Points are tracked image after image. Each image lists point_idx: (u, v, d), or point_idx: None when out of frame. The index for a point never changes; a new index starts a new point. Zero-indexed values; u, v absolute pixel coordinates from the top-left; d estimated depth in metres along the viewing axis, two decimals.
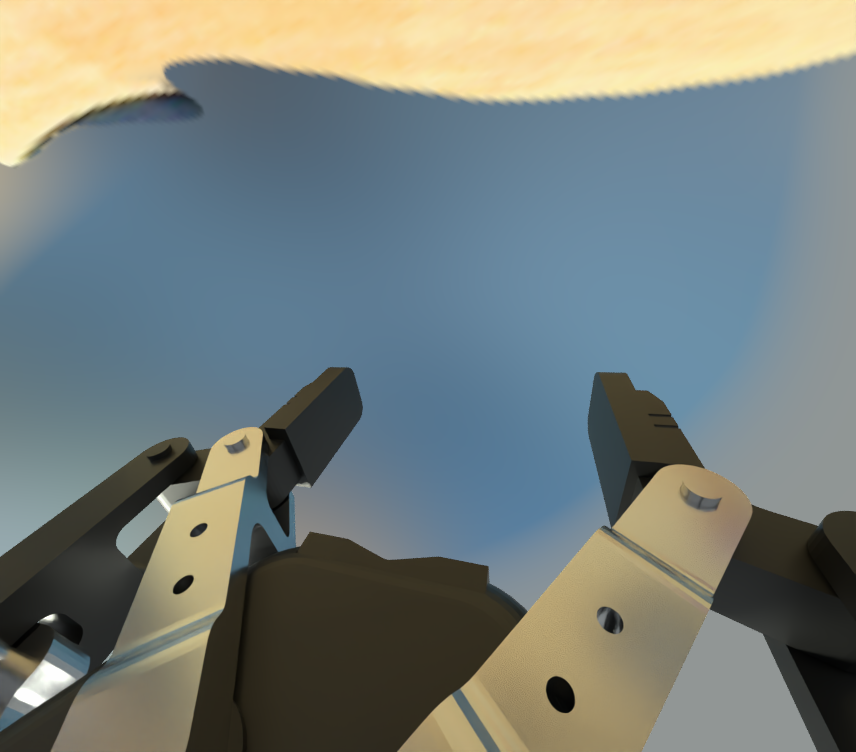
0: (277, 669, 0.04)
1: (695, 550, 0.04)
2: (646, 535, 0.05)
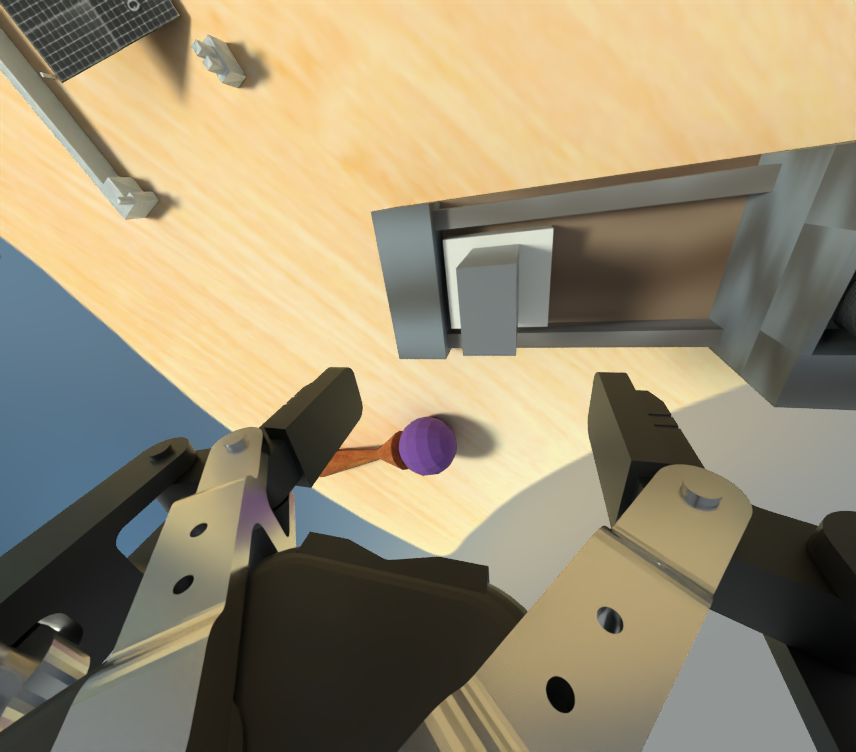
0: (277, 669, 0.04)
1: (695, 550, 0.04)
2: (646, 535, 0.05)
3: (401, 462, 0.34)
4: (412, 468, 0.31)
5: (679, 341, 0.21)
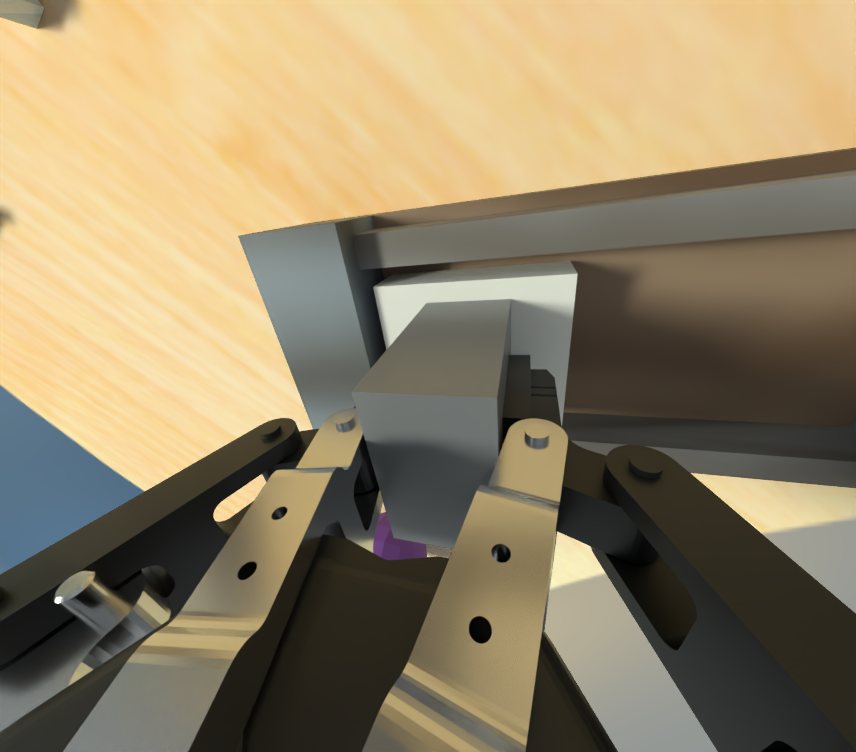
0: (277, 669, 0.04)
1: (543, 478, 0.06)
2: (511, 480, 0.06)
3: None
4: None
5: (803, 475, 0.11)
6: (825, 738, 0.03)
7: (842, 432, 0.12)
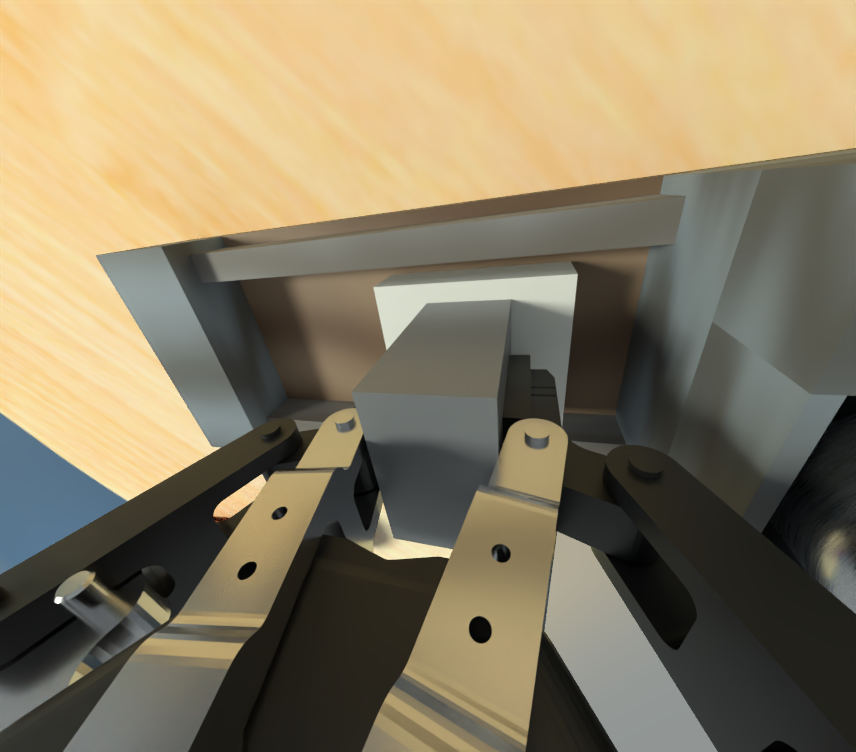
0: (277, 669, 0.04)
1: (542, 478, 0.06)
2: (511, 480, 0.06)
3: None
4: None
5: None
6: (825, 738, 0.03)
7: (606, 419, 0.14)
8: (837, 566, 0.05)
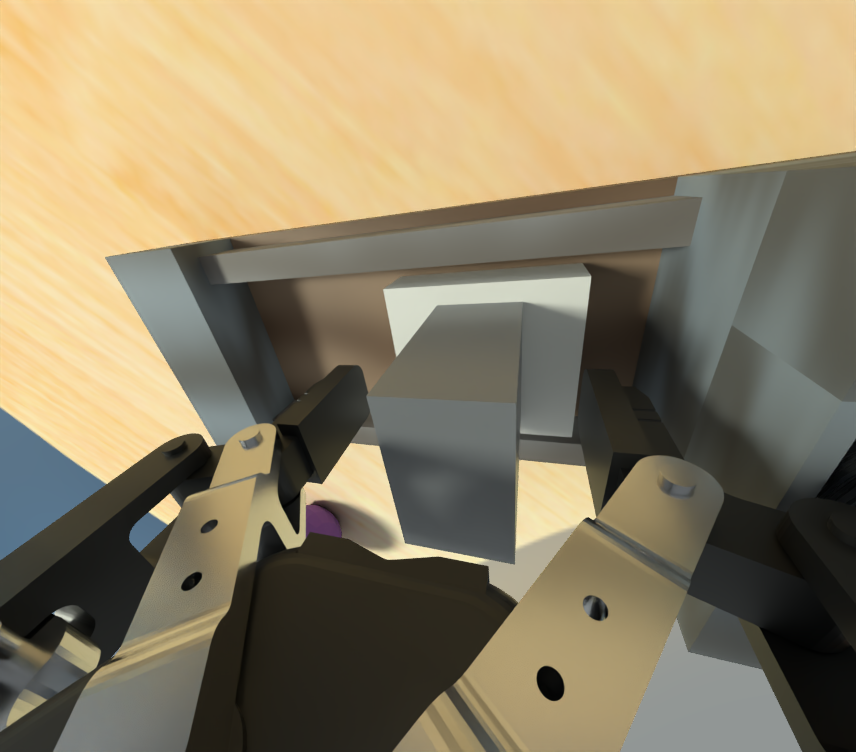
0: (277, 669, 0.04)
1: (673, 536, 0.04)
2: (627, 525, 0.05)
3: None
4: None
5: (575, 458, 0.14)
6: None
7: None
8: None
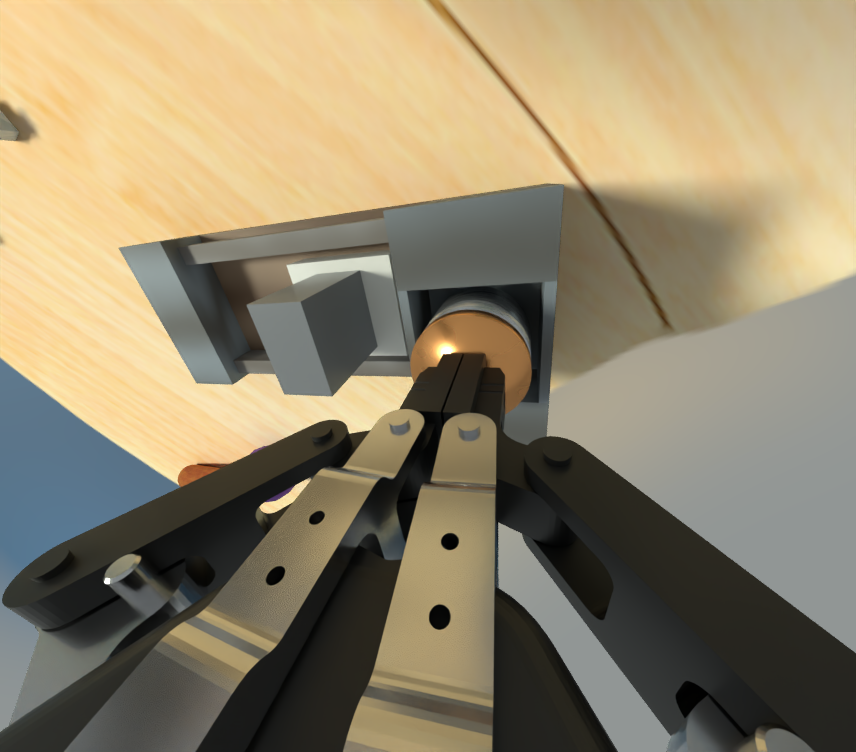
0: None
1: (479, 466, 0.06)
2: (451, 473, 0.06)
3: None
4: None
5: None
6: (716, 669, 0.03)
7: None
8: None
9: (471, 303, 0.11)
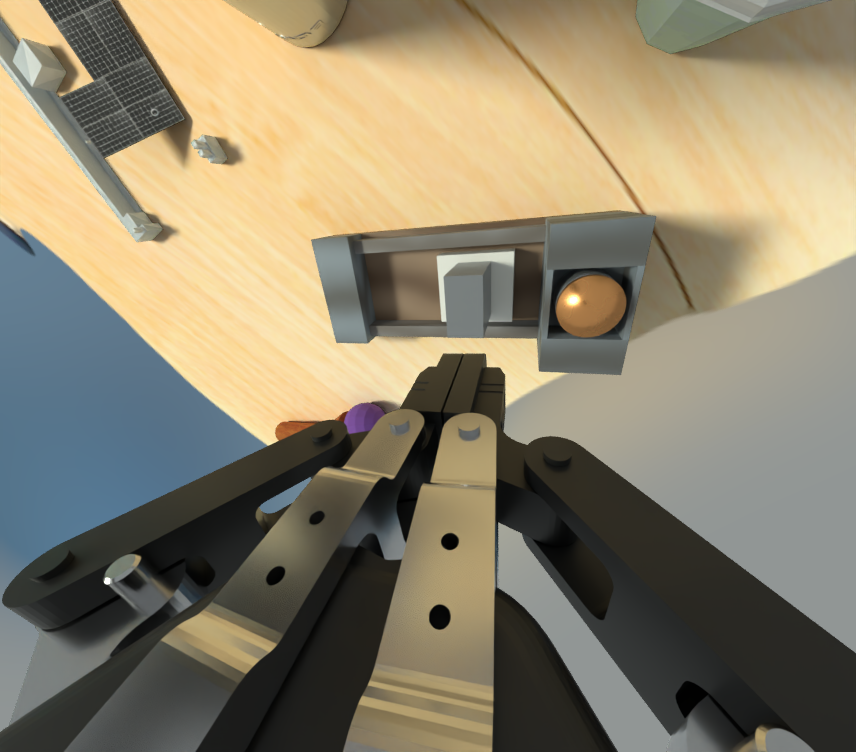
0: None
1: (479, 466, 0.06)
2: (451, 473, 0.06)
3: None
4: None
5: (514, 334, 0.31)
6: (716, 669, 0.03)
7: (533, 321, 0.32)
8: (554, 303, 0.24)
9: (593, 272, 0.22)
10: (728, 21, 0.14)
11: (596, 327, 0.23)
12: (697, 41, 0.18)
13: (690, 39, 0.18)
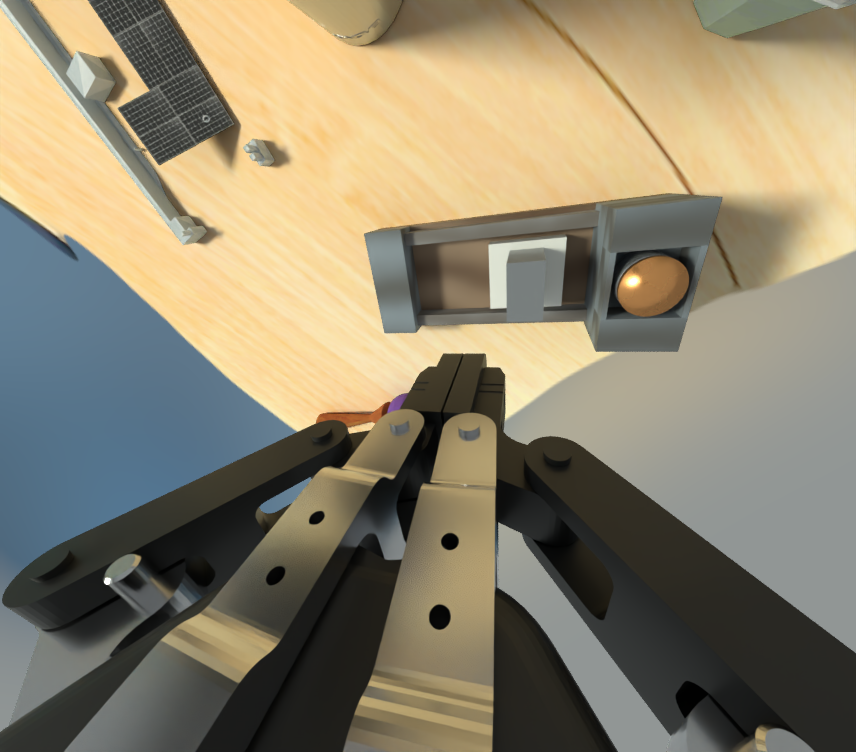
0: None
1: (479, 466, 0.06)
2: (451, 474, 0.06)
3: None
4: None
5: (563, 318, 0.32)
6: (716, 670, 0.03)
7: (580, 304, 0.33)
8: (613, 285, 0.25)
9: (655, 253, 0.23)
10: (809, 7, 0.15)
11: (657, 306, 0.24)
12: (763, 25, 0.19)
13: (757, 24, 0.19)
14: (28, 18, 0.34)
